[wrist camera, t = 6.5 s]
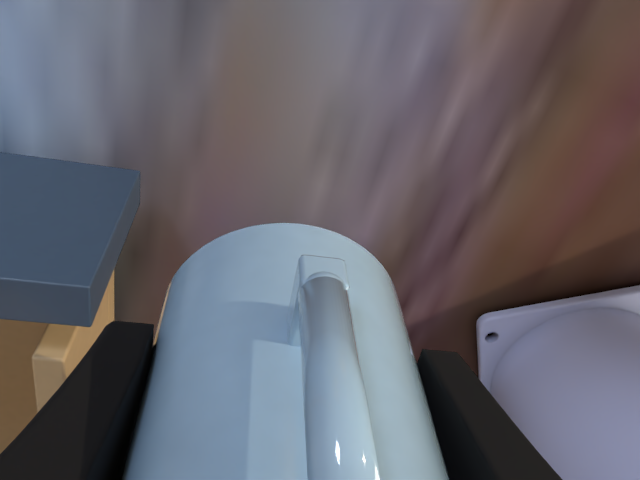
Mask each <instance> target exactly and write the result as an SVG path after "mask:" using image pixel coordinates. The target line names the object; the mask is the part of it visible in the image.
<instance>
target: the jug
mask: <svg viewBox="0 0 640 480" xmlns="http://www.w3.org/2000/svg"><path fill="white" fill-rule="evenodd" d="M118 480H450V478H449V475H448V471H447V468H446V464H445V461H444V457H443V454H442V450H441V447H440V443H439V440H438V436H437V433H436V429H435V426H434V422H433V419H432V415H431V412H430V408H429V405H428V401H427V398H426V394H425V391H424V387H423V384H422V380H421V377H420V373H419V370H418V366H417V363H416V359H415V356H414V352H413V349H412V345H411V342H410V338H409V335H408V331H407V328H406V324H405V321H404V317H403V314H402V310H401V307H400V303H399V300H398V296H397V293H396V289H395V287H394V284H393V282H392V280H391V278H390V276H389V274H388V273H387V271H386V270H385V268H384V267H383V266H382V264H381V263H380V262H379V261H378V260H377V259H376V258H375V257H374V256H373V255H372V254H371V253H370V252H368V251H367V250H366V249H365V248H363V247H362V246H361V245H359V244H357V243H356V242H354V241H352V240H351V239H349V238H347V237H345V236H343V235H340V234H338V233H336V232H334V231H330V230H327V229H324V228H321V227H317V226H311V225H306V224H297V223H267V224H261V225H255V226H249V227H246V228H242V229H239V230H235V231H232V232H230V233H228V234H225V235H223V236H220V237H218V238H216V239H215V240H213V241H211V242H209V243H208V244H206V245H204V246H203V247H202V248H200V249H199V250H198V251H196V252H195V253H194V254H192V255H191V256H190V257H189V258H188V259H187V260H186V261H185V262H184V263H183V264H182V266H181V267H180V268H179V270H178V271H177V272H176V274H175V275H174V277H173V278H172V280H171V282H170V284H169V286H168V288H167V291H166V294H165V298H164V301H163V305H162V309H161V313H160V317H159V321H158V325H157V329H156V332H155V336H154V340H153V348H152V352H151V356H150V360H149V364H148V368H147V372H146V376H145V380H144V384H143V388H142V392H141V396H140V399H139V403H138V407H137V410H136V414H135V417H134V421H133V425H132V428H131V432H130V436H129V439H128V443H127V447H126V451H125V455H124V459H123V463H122V467H121V471H120V475H119V479H118Z"/></svg>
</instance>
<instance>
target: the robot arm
mask: <svg viewBox="0 0 640 480" xmlns="http://www.w3.org/2000/svg"><path fill="white" fill-rule="evenodd" d="M153 328H154V324H143V323H132V322H121V321H112V322H111V323H109V324H108V325H106V326H105V328H104V329H103V331H102V332H101V334H100V335H99V336H98V338H97V339H96V341H95V342H94V343H93V345H92V346H91V348H90V349H89V350H88V352H87V353H86V354H85V356H84V357H83V358H82V360H81V361H80V362H79V364H78V365H77V366H76V367H75V369H74V370H73V371H72V372H71V374H70V375H69V376H68V377H67V379H66V380H65V381H64V382H63V384H62V385H61V386H60V387H59V389H58V390H57V391H56V392H55V393H54V394H53V396H52V397H51V398H50V399H49V400H48V401H47V403H46V404H45V405H44V406H43V407H42V408H41V410H40V411H39V412H38V413H37V414H36V415H35V416H34V418H33V419H32V420H31V421H30V422H29V423H28V425H27V426H26V427H25V428H24V429H23V430H22V431H21V432H20V434H19V435H18V436H17V437H16V438H15V439H14V440H13V441H12V442H11V443H10V444H9V445H8V446H7V447H6V449H5V450H4V451H3V452H2V453H1V454H0V480H118V479H119V475H120V471H121V467H122V463H123V459H124V455H125V451H126V447H127V443H128V439H129V436H130V432H131V428H132V425H133V421H134V417H135V414H136V410H137V407H138V403H139V399H140V396H141V392H142V388H143V384H144V380H145V376H146V372H147V368H148V364H149V360H150V356H151V352H152V348H153ZM476 332H477V355H478V377H477V376H476V375H475V374H474V372H473V371H472V370H471V369H470V367H469V366H468V365H467V364H466V362H465V361H464V360H463V359H462V358H461V356H460V355H459V354H458V353H457V352H448V351H437V350H426V349H422V352H421V355H420V357H419V360H418V363H417V366H418V370H419V373H420V377H421V380H422V384H423V387H424V391H425V394H426V398H427V401H428V405H429V408H430V412H431V415H432V419H433V422H434V426H435V429H436V433H437V436H438V440H439V443H440V447H441V450H442V454H443V457H444V461H445V464H446V468H447V471H448V475H449V478H450V480H640V285H638V286H632V287H627V288H621V289H616V290H610V291H605V292H599V293H594V294H588V295H583V296H577V297H572V298H566V299H561V300H555V301H550V302H544V303H539V304H533V305H528V306H522V307H517V308H511V309H506V310H500V311H495V312H489V313H486V314H483V315H482V316H480V317H479V319H478V320H477V323H476ZM489 333H493V334H492V335H489V336H487V335H488V334H489ZM478 378H479V379H478Z"/></svg>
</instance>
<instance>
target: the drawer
mask: <svg viewBox="0 0 640 480" xmlns="http://www.w3.org/2000/svg"><path fill="white" fill-rule="evenodd" d="M139 204H140V171H137V170H129V169H122V168H115V167H107V166H100V165H92V164H85V163H77V162H70V161H62V160H55V159H47V158H40V157H32V156H25V155H18V154H10V153H3V152H0V454H1V453H2V452H3V451H4V450H5V449H6V447H7V446H8V445H9V444H10V443H11V442H12V441H13V440H14V439H15V438H16V437H17V436H18V435H19V434H20V432H21V431H22V430H23V429H24V428H25V427H26V426H27V425H28V423H29V422H30V421H31V420H32V419H33V418H34V416H35V415H36V414H37V413H38V412H39V411H40V410H41V408H42V407H43V406H44V405H45V404H46V403H47V401H48V400H49V399H50V398H51V397H52V396H53V394H54V393H55V392H56V391H57V390H58V389H59V387H60V386H61V385H62V384H63V382H64V381H65V380H66V379H67V377H68V376H69V375H70V374H71V372H72V371H73V370H74V369H75V367H76V366H77V365H78V364H79V362H80V361H81V360H82V358H83V357H84V356H85V354H86V353H87V352H88V350H89V349H90V348H91V346H92V345H93V343H94V342H95V341H96V339H97V338H98V336H99V335H100V334H101V332H102V331H103V329H104V328H105V326H106V325H108V324H109V323H111V322H112V321H114V268H115V265H116V263H117V260H118V258H119V255H120V253H121V250H122V247H123V245H124V242H125V240H126V237H127V235H128V232H129V230H130V227H131V225H132V222H133V219H134V217H135V214H136V212H137V209H138V207H139Z"/></svg>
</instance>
